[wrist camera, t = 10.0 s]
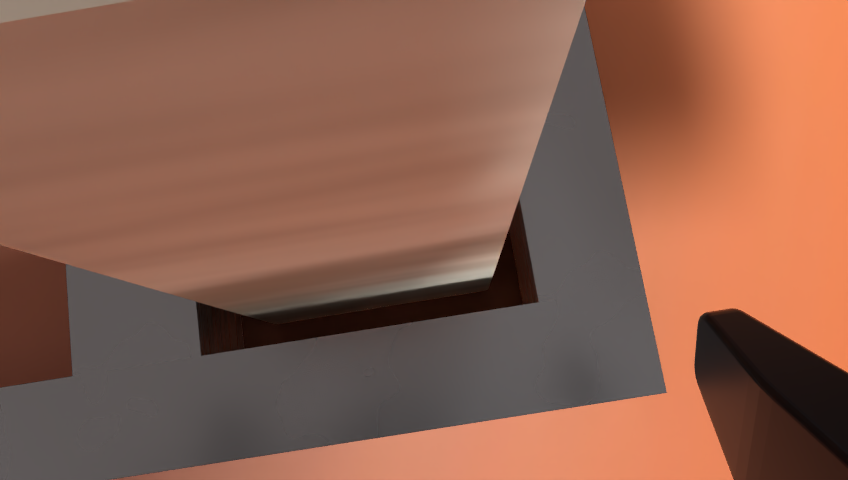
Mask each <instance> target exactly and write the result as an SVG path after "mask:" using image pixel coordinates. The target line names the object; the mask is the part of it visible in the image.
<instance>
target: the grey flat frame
mask: <svg viewBox="0 0 848 480" xmlns="http://www.w3.org/2000/svg"><path fill="white" fill-rule="evenodd" d="M509 231H510V236H511V242H512V247H513V253H514V259H515V264H516V270H517V275H518V281H519V286H520V292H521V297H522V303H523V305H518V306H512V307H506V308H499V309H493V310H487V311H481V312H474V313H468V314H462V315H455V316H449V317H443V318H436V319H430V320H424V321H418V322H411V323H405V324H399V325H392V326H386V327H380V328H373V329H367V330H361V331H355V332H348V333H342V334H336V335H329V336H323V337H317V338H310V339H304V340H298V341H292V342H285V343H279V344H273V345H266V346H260V347H254V348H247V349H245V346H244V337H243V327H242V318H241V314H238V313H234V312H231V311H227V310H224V309H220V308H217V307H213V306H210V305H206V304H203V303H199V302H196V301H193V300H189V299H186V298H182V297H179V296H175V295H172V294H168V293H165V292H161V291H158V290H154V289H151V288H147V287H144V286H140V285H137V284H133V283H130V282H126V281H123V280H120V279H116V278H113V277H109V276H106V275H102V274H99V273H95V272H92V271H88V270H85V269H81V268H78V267H74V266H71V265H67V264H66V278H67V294H68V310H69V327H70V343H71V359H72V375H73V376H71V377H65V378H58V379H52V380H46V381H39V382H33V383H27V384H21V385H14V386H8V387H2V388H0V480H110V479H117V478H123V477H130V476H136V475H142V474H149V473H155V472H162V471H168V470H175V469H181V468H187V467H194V466H200V465H207V464H213V463H219V462H226V461H232V460H239V459H245V458H251V457H258V456H264V455H271V454H277V453H283V452H290V451H296V450H303V449H309V448H315V447H322V446H328V445H335V444H341V443H348V442H354V441H360V440H367V439H373V438H380V437H386V436H392V435H399V434H405V433H412V432H418V431H424V430H431V429H437V428H444V427H450V426H456V425H463V424H469V423H476V422H482V421H489V420H495V419H501V418H508V417H514V416H521V415H527V414H533V413H540V412H546V411H553V410H559V409H565V408H572V407H578V406H585V405H591V404H597V403H604V402H610V401H617V400H623V399H629V398H636V397H642V396H649V395H655V394H662V393H667V392H666V387H665V383H664V378H663V373H662V369H661V364H660V359H659V355H658V350H657V345H656V341H655V336H654V331H653V326H652V322H651V317H650V312H649V308H648V303H647V298H646V294H645V289H644V284H643V280H642V275H641V270H640V265H639V261H638V256H637V251H636V247H635V242H634V237H633V233H632V228H631V223H630V219H629V214H628V209H627V204H626V200H625V195H624V190H623V186H622V181H621V176H620V172H619V167H618V162H617V157H616V153H615V148H614V143H613V139H612V134H611V129H610V125H609V120H608V115H607V111H606V106H605V101H604V96H603V92H602V87H601V82H600V78H599V73H598V68H597V64H596V59H595V54H594V50H593V45H592V40H591V35H590V31H589V26H588V21H587V17H586V12H585V7H584V8H583V11H582V14H581V17H580V20H579V23H578V26H577V29H576V32H575V35H574V37H573V40H572V43H571V46H570V49H569V52H568V55H567V58H566V61H565V64H564V67H563V70H562V73H561V76H560V79H559V82H558V85H557V88H556V91H555V94H554V97H553V100H552V103H551V106H550V109H549V112H548V114H547V117H546V120H545V123H544V126H543V129H542V132H541V135H540V138H539V141H538V144H537V147H536V150H535V153H534V156H533V159H532V162H531V165H530V168H529V171H528V174H527V177H526V180H525V183H524V186H523V189H522V192H521V194H520V197H519V200H518V203H517V206H516V209H515V212H514V215H513V218H512V221H511V224H510V227H509Z"/></svg>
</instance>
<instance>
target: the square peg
mask: <svg viewBox="0 0 848 480" xmlns="http://www.w3.org/2000/svg"><path fill="white" fill-rule="evenodd" d="M585 2H586V0H0V245H1V246H5V247H8V248H12V249H15V250H19V251H22V252H26V253H29V254H33V255H36V256H40V257H43V258H47V259H50V260H53V261H57V262H60V263H64V264H67V265H71V266H74V267H78V268H81V269H85V270H88V271H92V272H95V273H99V274H102V275H106V276H109V277H113V278H116V279H120V280H123V281H126V282H130V283H133V284H137V285H140V286H144V287H147V288H151V289H154V290H158V291H161V292H165V293H168V294H172V295H175V296H179V297H182V298H186V299H189V300H193V301H196V302H199V303H203V304H206V305H210V306H213V307H217V308H220V309H224V310H227V311H231V312H234V313H238V314H241V315H245V316H248V317H252V318H255V319H259V320H262V321H266V322H269V323H272V324H282V323H288V322H294V321H300V320H307V319H313V318H319V317H325V316H331V315H338V314H344V313H350V312H356V311H362V310H369V309H375V308H381V307H387V306H393V305H400V304H406V303H412V302H418V301H424V300H431V299H437V298H443V297H449V296H455V295H462V294H468V293H474V292H480V291H486V290H488V289H489V286H490V283H491V280H492V277H493V274H494V271H495V269H496V266H497V263H498V260H499V257H500V254H501V251H502V248H503V245H504V242H505V239H506V236H507V233H508V230H509V227H510V224H511V221H512V218H513V215H514V212H515V209H516V206H517V203H518V200H519V197H520V194H521V192H522V189H523V186H524V183H525V180H526V177H527V174H528V171H529V168H530V165H531V162H532V159H533V156H534V153H535V150H536V147H537V144H538V141H539V138H540V135H541V132H542V129H543V126H544V123H545V120H546V117H547V114H548V112H549V109H550V106H551V103H552V100H553V97H554V94H555V91H556V88H557V85H558V82H559V79H560V76H561V73H562V70H563V67H564V64H565V61H566V58H567V55H568V52H569V49H570V46H571V43H572V40H573V37H574V35H575V32H576V29H577V26H578V23H579V20H580V17H581V14H582V11H583V8H584V5H585Z"/></svg>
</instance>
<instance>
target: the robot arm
mask: <svg viewBox="0 0 848 480" xmlns="http://www.w3.org/2000/svg"><path fill="white" fill-rule="evenodd" d="M695 375H696V379H697V383H698V386H699V389H700V391H701V394H702V397H703V399H704V402H705V405H706V407H707V410H708V413H709V415H710V418H711V421H712V423H713V426H714V429H715V431H716V434H717V437H718V439H719V442H720V445H721V447H722V450H723V453H724V455H725V458H726V460H727V463H728V466H729V468H730V471H731V474H732V476H733V479H734V480H848V373H847V372H846V371H844V370H842V369H841V368H839V367H837V366H835V365H834V364H832V363H830V362H829V361H827V360H825V359H824V358H822V357H820V356H818V355H817V354H815V353H813V352H812V351H810V350H808V349H806V348H805V347H803V346H801V345H800V344H798V343H796V342H794V341H793V340H791V339H789V338H788V337H786V336H784V335H782V334H781V333H779V332H777V331H776V330H774V329H772V328H770V327H769V326H767V325H765V324H764V323H762V322H760V321H758V320H757V319H755V318H753V317H752V316H750V315H748V314H747V313H745V312H743V311H741V310H738V309H725V310H719V311H712V312H707V313H704V314H703V315H701V317H700V319H699V322H698V329H697V341H696V352H695Z"/></svg>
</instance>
